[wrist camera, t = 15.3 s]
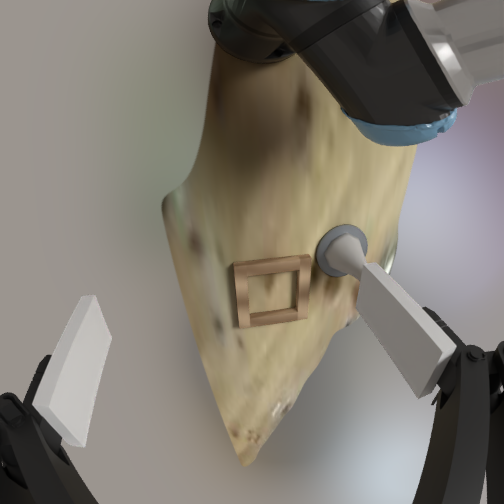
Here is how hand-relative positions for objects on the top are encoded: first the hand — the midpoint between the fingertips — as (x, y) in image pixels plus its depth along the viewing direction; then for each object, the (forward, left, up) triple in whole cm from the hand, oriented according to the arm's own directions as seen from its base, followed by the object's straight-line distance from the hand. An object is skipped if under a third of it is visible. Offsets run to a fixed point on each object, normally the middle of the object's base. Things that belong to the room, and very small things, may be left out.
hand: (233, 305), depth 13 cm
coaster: (+2, +26, -32) cm, 41 cm away
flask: (+2, +26, -31) cm, 41 cm away
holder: (+14, +18, -32) cm, 39 cm away
